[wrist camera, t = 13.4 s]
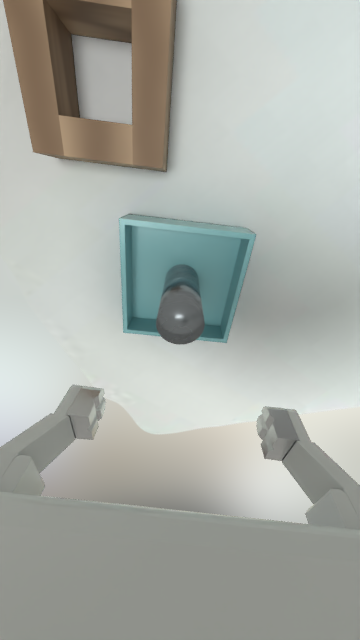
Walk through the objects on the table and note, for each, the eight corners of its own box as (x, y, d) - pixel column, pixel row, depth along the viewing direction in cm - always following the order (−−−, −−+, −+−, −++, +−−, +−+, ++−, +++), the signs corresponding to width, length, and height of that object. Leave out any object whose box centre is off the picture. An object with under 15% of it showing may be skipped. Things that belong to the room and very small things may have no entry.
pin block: (176, -2, 16) (174, -55, 12) (166, 171, 21) (162, 168, 18) (30, -25, 15) (-14, -86, 12) (58, 158, 21) (33, 152, 18)
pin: (200, 266, 25) (208, 305, 17) (195, 297, 27) (200, 346, 19) (166, 262, 25) (157, 300, 16) (164, 293, 27) (154, 341, 19)
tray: (246, 228, 24) (256, 234, 20) (221, 325, 31) (226, 342, 27) (128, 213, 23) (119, 218, 20) (130, 316, 30) (123, 332, 27)
